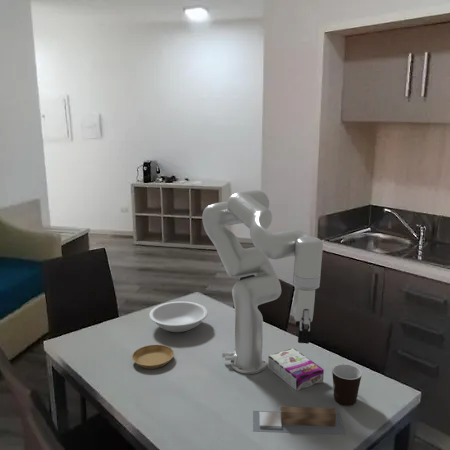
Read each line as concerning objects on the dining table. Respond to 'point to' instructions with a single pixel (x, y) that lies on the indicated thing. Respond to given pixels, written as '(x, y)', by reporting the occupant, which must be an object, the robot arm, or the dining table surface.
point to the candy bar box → (295, 369)
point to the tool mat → (300, 427)
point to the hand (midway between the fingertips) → (302, 334)
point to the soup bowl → (178, 315)
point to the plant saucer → (153, 356)
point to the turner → (298, 417)
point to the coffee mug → (346, 383)
